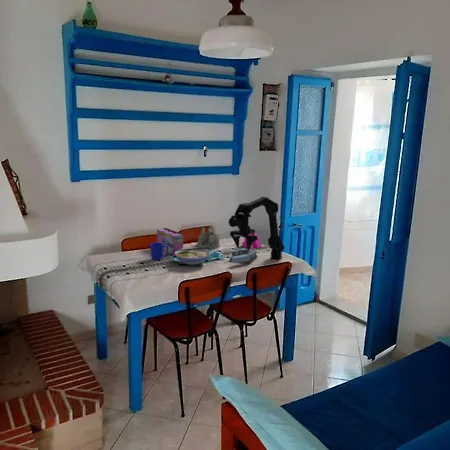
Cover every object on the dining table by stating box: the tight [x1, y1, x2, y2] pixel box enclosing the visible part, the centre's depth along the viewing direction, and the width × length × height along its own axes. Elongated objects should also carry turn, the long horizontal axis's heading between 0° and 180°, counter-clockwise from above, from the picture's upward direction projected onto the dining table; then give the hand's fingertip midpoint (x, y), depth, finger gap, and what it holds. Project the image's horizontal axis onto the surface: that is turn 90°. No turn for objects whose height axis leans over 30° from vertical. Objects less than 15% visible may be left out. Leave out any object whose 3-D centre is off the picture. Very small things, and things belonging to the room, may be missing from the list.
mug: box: [149, 242, 169, 261], centre depth 297 cm, size 8×12×10 cm
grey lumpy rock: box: [196, 224, 221, 250], centre depth 328 cm, size 16×16×15 cm
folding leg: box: [231, 254, 251, 264], centre depth 288 cm, size 14×3×4 cm, turn 122°
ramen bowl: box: [172, 247, 211, 266], centre depth 289 cm, size 25×23×8 cm
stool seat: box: [229, 247, 258, 265], centre depth 298 cm, size 14×14×6 cm
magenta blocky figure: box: [241, 233, 263, 250], centre depth 328 cm, size 12×10×10 cm
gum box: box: [156, 227, 184, 255], centre depth 317 cm, size 24×8×14 cm, turn 40°
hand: (243, 249), depth 278 cm, fingers open, 9 cm apart
